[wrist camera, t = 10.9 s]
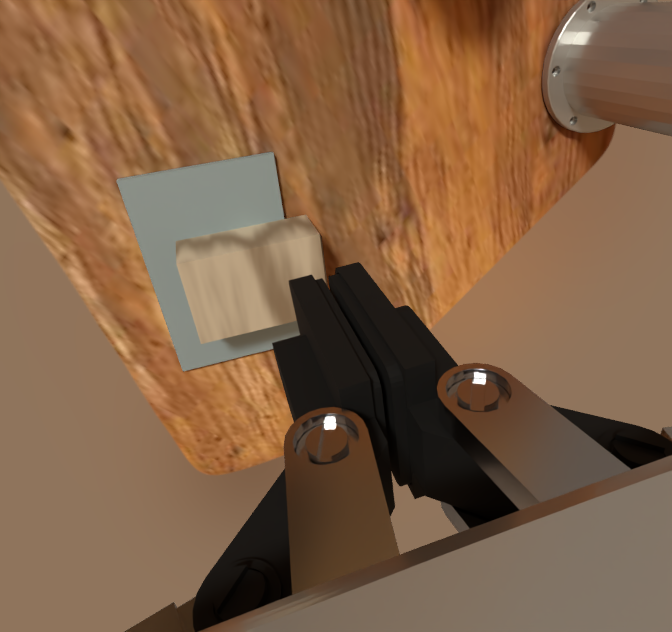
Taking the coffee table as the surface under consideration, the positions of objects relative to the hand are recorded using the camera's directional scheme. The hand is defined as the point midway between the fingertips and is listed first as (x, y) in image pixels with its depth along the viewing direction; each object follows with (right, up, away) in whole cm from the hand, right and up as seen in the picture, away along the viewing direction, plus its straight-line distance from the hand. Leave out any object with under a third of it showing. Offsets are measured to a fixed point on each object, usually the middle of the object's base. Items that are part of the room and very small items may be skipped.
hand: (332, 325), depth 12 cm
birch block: (-1, +5, +34) cm, 35 cm away
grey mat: (-11, +5, +35) cm, 37 cm away
